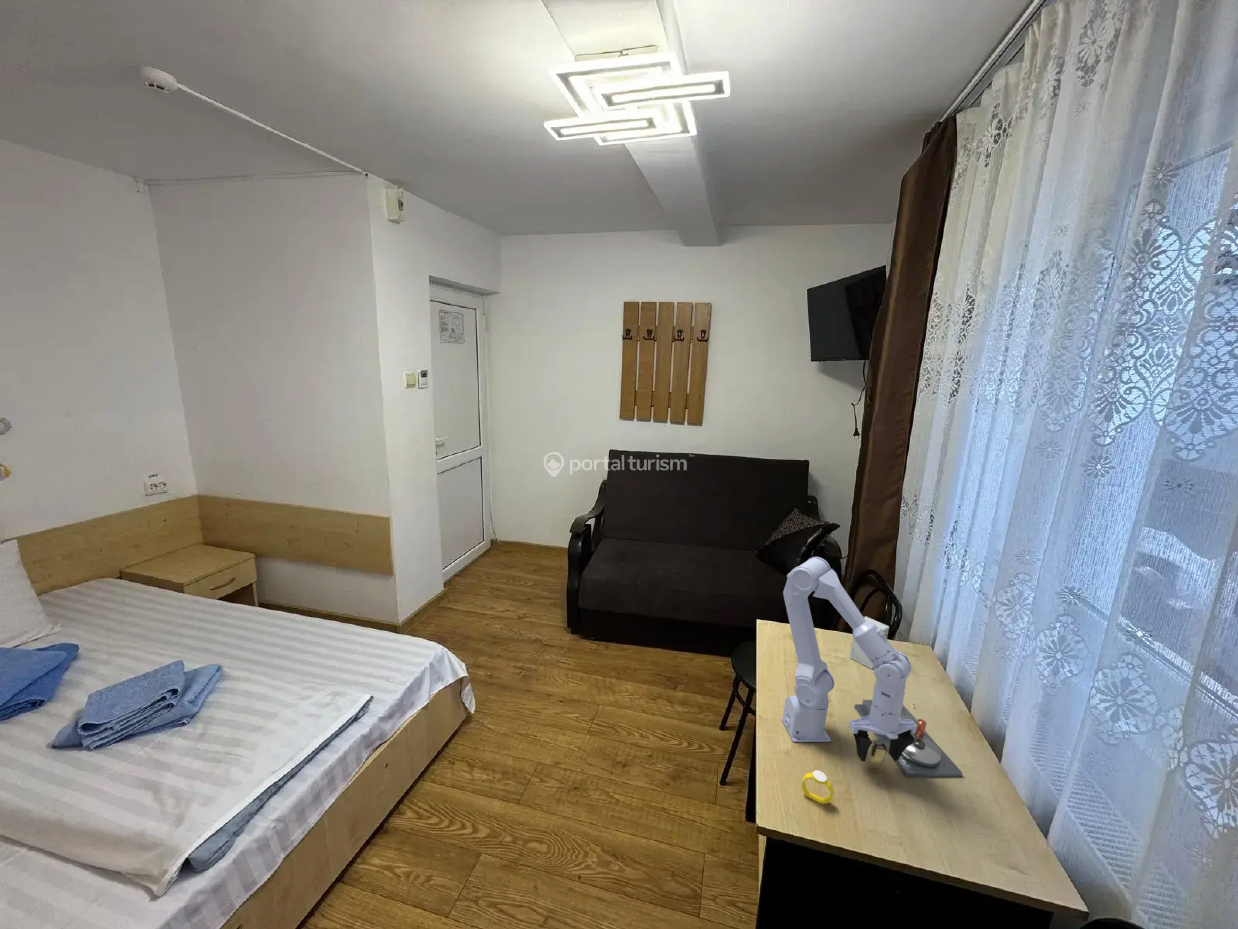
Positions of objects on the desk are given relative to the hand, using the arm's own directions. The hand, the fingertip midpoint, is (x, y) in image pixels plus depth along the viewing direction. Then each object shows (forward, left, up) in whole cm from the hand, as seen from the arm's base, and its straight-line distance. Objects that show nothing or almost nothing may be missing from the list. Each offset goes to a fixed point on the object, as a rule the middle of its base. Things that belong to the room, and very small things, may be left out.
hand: (877, 757), depth 108 cm
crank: (+12, +4, -2) cm, 13 cm away
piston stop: (0, 0, -3) cm, 3 cm away
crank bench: (+12, +9, -3) cm, 15 cm away
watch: (-18, -7, -3) cm, 19 cm away
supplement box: (+21, +41, -3) cm, 46 cm away
